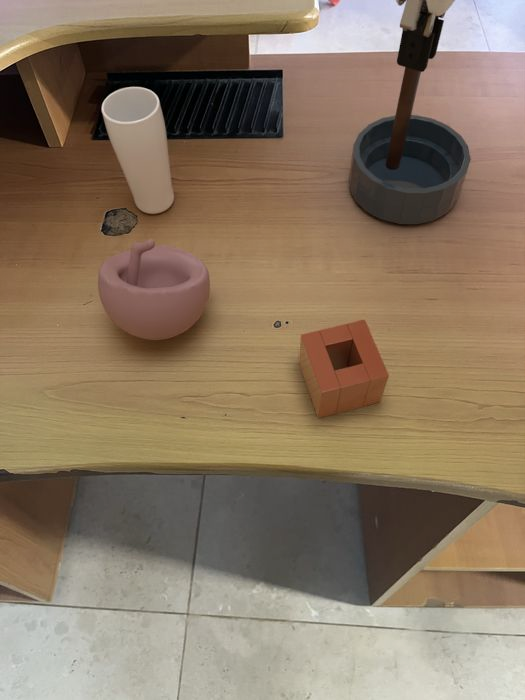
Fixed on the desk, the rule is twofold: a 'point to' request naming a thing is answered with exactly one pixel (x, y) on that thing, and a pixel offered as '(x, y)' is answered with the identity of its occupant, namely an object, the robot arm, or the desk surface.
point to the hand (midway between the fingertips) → (415, 59)
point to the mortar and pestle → (154, 290)
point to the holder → (340, 352)
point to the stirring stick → (403, 115)
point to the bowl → (409, 171)
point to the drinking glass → (140, 146)
